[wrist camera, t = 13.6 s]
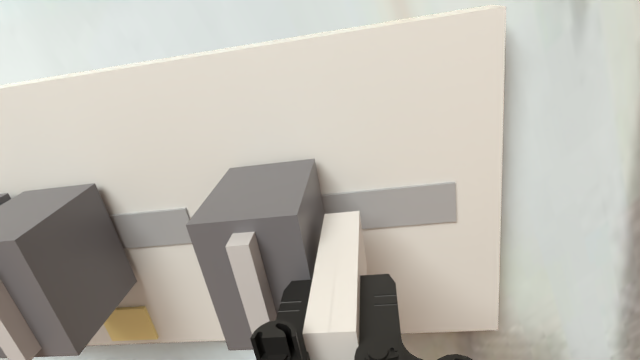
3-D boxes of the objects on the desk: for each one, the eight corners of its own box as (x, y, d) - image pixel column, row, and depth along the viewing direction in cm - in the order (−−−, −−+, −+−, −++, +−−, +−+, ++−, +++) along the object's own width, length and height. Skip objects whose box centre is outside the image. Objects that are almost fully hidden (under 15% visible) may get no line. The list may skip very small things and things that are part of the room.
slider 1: (72, 285, 23) (-15, 373, 18) (24, 191, 20) (-94, 260, 15) (137, 281, 22) (66, 370, 17) (94, 183, 20) (-4, 252, 14)
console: (-36, 329, 29) (-66, 353, 27) (-184, 115, 23) (-237, 127, 21) (487, 303, 23) (499, 332, 21) (491, 4, 17) (507, 6, 15)
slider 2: (258, 273, 21) (222, 366, 16) (229, 168, 19) (175, 237, 13) (334, 268, 20) (322, 364, 15) (314, 158, 18) (293, 227, 13)
